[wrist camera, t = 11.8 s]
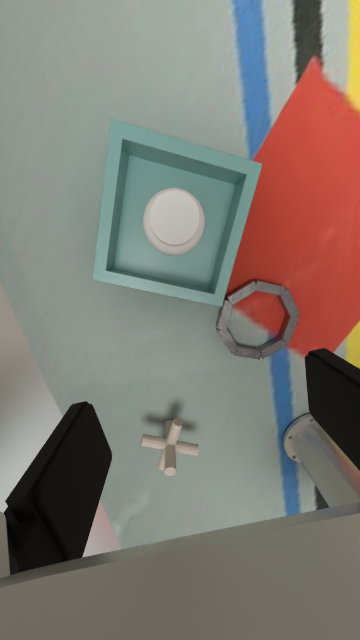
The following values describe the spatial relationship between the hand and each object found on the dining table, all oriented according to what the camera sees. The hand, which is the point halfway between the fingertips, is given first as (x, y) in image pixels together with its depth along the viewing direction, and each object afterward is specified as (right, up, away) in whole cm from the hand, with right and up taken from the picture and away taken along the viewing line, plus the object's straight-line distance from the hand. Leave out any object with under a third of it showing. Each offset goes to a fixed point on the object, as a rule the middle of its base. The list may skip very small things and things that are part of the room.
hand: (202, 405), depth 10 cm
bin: (-2, +17, +24) cm, 29 cm away
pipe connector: (-3, -17, +34) cm, 38 cm away
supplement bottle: (-2, +17, +23) cm, 29 cm away
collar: (+12, +4, +29) cm, 31 cm away
